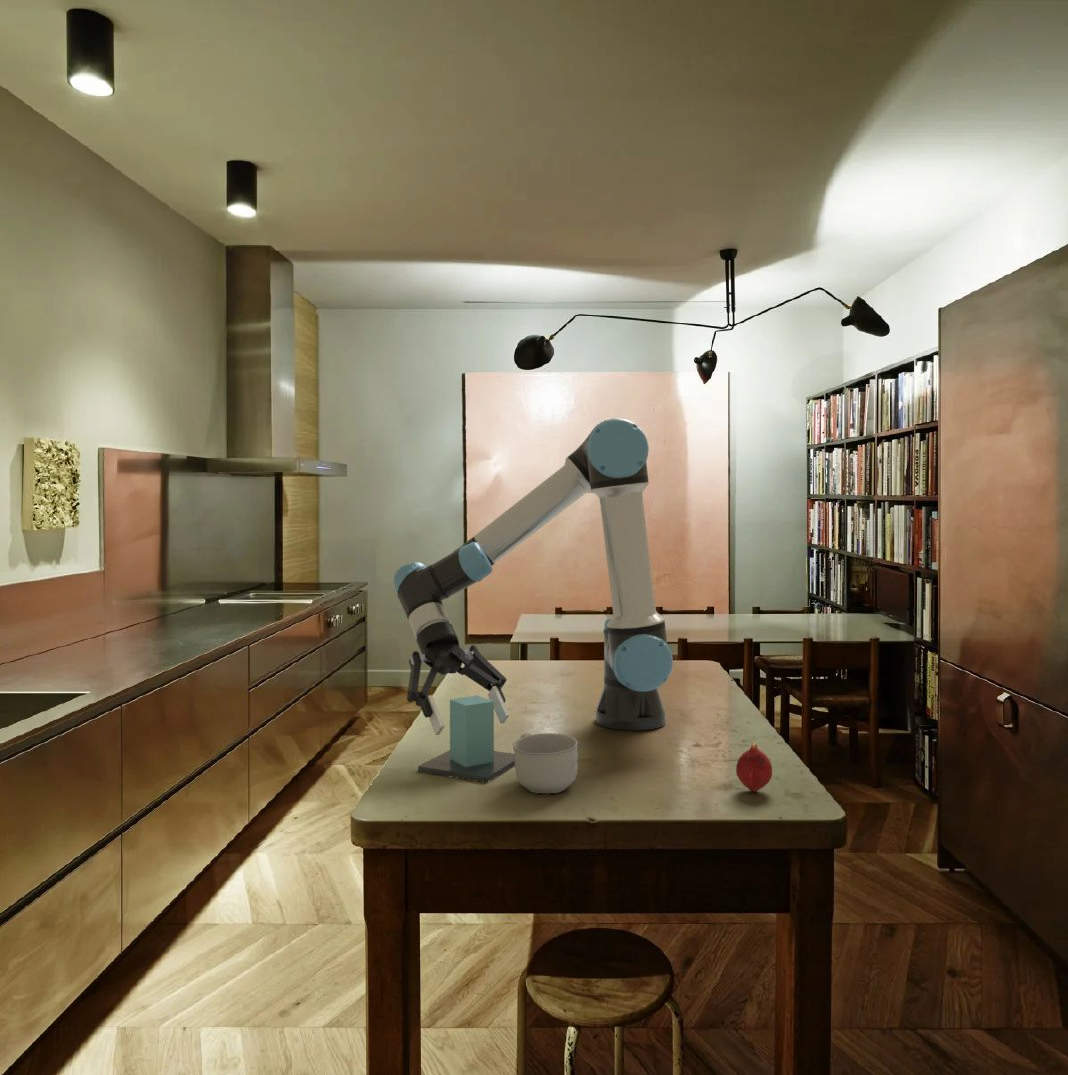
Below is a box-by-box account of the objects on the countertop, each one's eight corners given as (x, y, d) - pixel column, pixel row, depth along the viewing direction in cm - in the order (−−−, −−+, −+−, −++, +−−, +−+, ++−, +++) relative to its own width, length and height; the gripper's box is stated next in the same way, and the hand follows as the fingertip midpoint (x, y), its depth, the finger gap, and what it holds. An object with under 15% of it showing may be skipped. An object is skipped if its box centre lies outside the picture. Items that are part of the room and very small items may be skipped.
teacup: (586, 795, 137) (587, 747, 137) (522, 802, 134) (523, 752, 134) (560, 770, 151) (560, 726, 150) (501, 775, 148) (501, 730, 147)
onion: (777, 797, 136) (778, 748, 136) (742, 798, 136) (743, 749, 136) (764, 785, 142) (765, 738, 142) (731, 786, 142) (731, 739, 141)
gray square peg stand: (523, 760, 156) (523, 712, 156) (487, 782, 144) (487, 730, 143) (458, 751, 162) (458, 704, 162) (418, 771, 149) (417, 721, 149)
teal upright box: (477, 753, 157) (477, 695, 156) (493, 761, 152) (493, 701, 152) (450, 759, 154) (449, 699, 153) (466, 767, 149) (465, 705, 148)
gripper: (481, 637, 173) (522, 726, 161) (368, 649, 159) (404, 747, 147) (495, 615, 168) (538, 704, 157) (380, 625, 154) (418, 723, 142)
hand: (473, 725), depth 152 cm, fingers open, 13 cm apart
